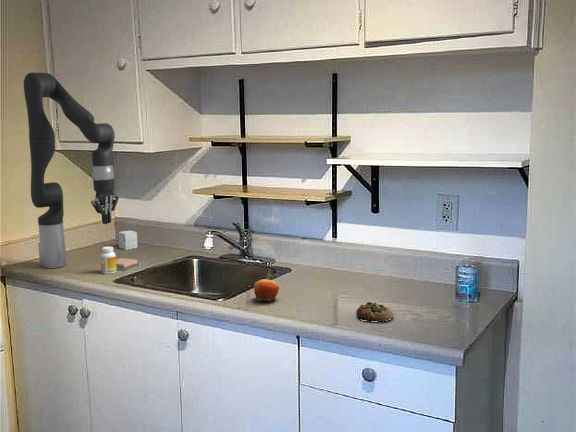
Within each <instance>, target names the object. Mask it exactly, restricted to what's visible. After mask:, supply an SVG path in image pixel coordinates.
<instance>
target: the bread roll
mask: <svg viewBox="0 0 576 432" xmlns="http://www.w3.org/2000/svg"><path fill="white" fill-rule="evenodd" d="M355 315H356V317H358V318H360V319H362V320H367V322H368V321H378V322H380V321H386V320H389V319H391V318H392V319H393V316H394V313H393V311H392V310H391V309H390V307H389V306H388V307H387V306H385V305H384V304H378V303H377V302H371V301H368V302H366V304H364V305H363V303H362V304H360V305H359V307H357V309H356V311H355ZM358 318H357V319H358ZM360 319H359V320H360Z"/></svg>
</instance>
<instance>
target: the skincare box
mask: <svg viewBox="0 0 576 432" xmlns="http://www.w3.org/2000/svg"><path fill="white" fill-rule="evenodd" d="M138 247H139V246H138V232H137V231H135V230H124V231H119V232H118V248H119V249H121V250H124V251H129V250H133V248H134V249H137V248H138ZM128 249H129V250H128Z"/></svg>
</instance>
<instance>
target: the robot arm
mask: <svg viewBox="0 0 576 432" xmlns="http://www.w3.org/2000/svg"><path fill="white" fill-rule="evenodd" d="M23 93H24V100H25V104H26V105H25V106H26V111H27V121H28V123H27V124H28V139H29V140H28V141H29V152H30V172H31V173H30V198H31V202H32V205H33V206H34V207H35V208H36V209H37V208H39V209H40V208H42V209H43V208H47V207H48V210H47V211H46V212H44V213H42V214H41V215H39V216H38V217H37V225H38V233H39V234H38V236H39V242H38V243H37V244H38V245H37V247H38V255H39V265H40V267H42V268H44V269H55V268H56V269H58V268H62V267H64V266H67V263H68V262H67V252H66V243H65V242H66V240H65V229H64V215H65V214H64V194H63V193H64V192H63V188H62V186H61V185H60V184H59V183H58V182H55V181H52V182H45V174H46V170H47V168H48V167H49V164H50V162H51V160H52V159H53V156H54V155H55V151H56V135H55V134H56V133H55V131H54V128H53V125H52V124H51V122H50V121H49V119H48V117H47V115H46V112H45V110H44V103H43V101H44V100H43V98H49V99H51V100H53V101H54V102H56V104H57V103H58V105H59V106H60V108H61V111H62V113H63V114H64V116H65V117H66V119H68V121H70V122H71V123H72V124H74V125H75V126H76V127H77V128H78V129H79V131H80V132H81V133H82V134H83V136H84V137H85V139H87V140H88V141H89V142H91V143H92V144H93V143H94V144H98V145H97V148H96V149H94V150H93V151H92V153H91V159H92V184H93V190H94V192H95V196H94V197H95V199H94V200H91V201H90V204H91V205H92V207H93V208H94V210H95V212H96V213H97V214H100V215H101V222H102V224H103V225H108V224H111V223H112V212H114V211H115V209H116V207H117V204H118V201H119V196H117V195H115V193H114V190H115V188H116V187H115V174H114V167H113V156H112V155H113V154H112V153H113V150H114V144H115V130H114V128H113V126H112V125H111V124H109V123H105V122H104V123H96V122H95V117H94V114H92V113H91V112H90V111H89V110H88V109H87V108H85V107H84V106H82V105H81V104H80V103H79V102H78V101H77V100H76V99H74V97H73V96H72V95H71V94H70V93H69V91H67V90H66V89H65V87H64V86H63V85H62V84H61V83H60V81H58V80H57V78H56V77H55V76H53V75H52V74H51V73H47V72H29V73H27V74H26V75H25V76H24V79H23Z"/></svg>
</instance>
